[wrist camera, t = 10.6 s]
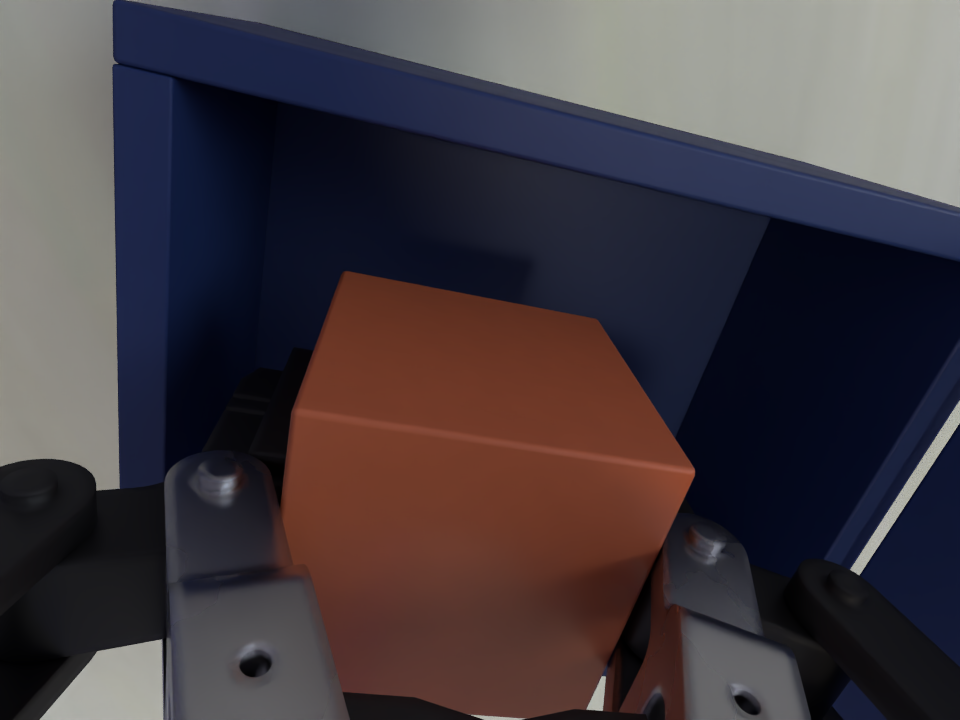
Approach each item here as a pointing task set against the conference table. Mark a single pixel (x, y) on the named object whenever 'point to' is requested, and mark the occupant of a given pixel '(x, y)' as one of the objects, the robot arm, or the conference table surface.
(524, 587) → the cube
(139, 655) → the conference table surface
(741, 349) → the case
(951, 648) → the case lid
